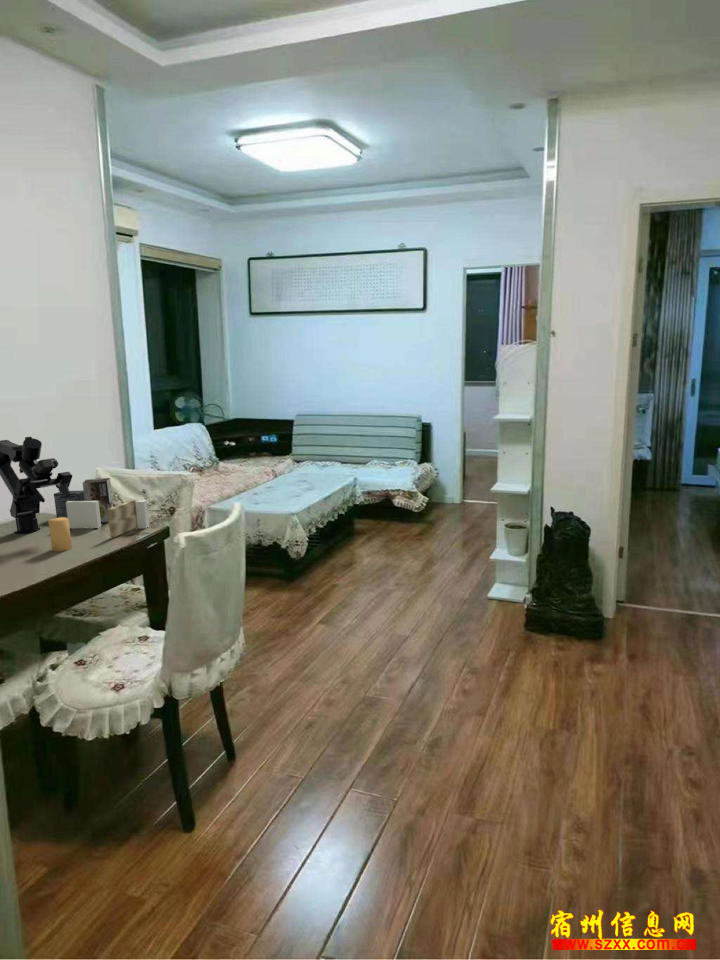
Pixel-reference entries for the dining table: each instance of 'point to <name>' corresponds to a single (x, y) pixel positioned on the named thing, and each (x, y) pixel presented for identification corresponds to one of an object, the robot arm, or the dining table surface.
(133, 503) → the door
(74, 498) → the small box
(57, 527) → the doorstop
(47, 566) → the dining table surface
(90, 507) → the wall frame
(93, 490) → the coffee box
